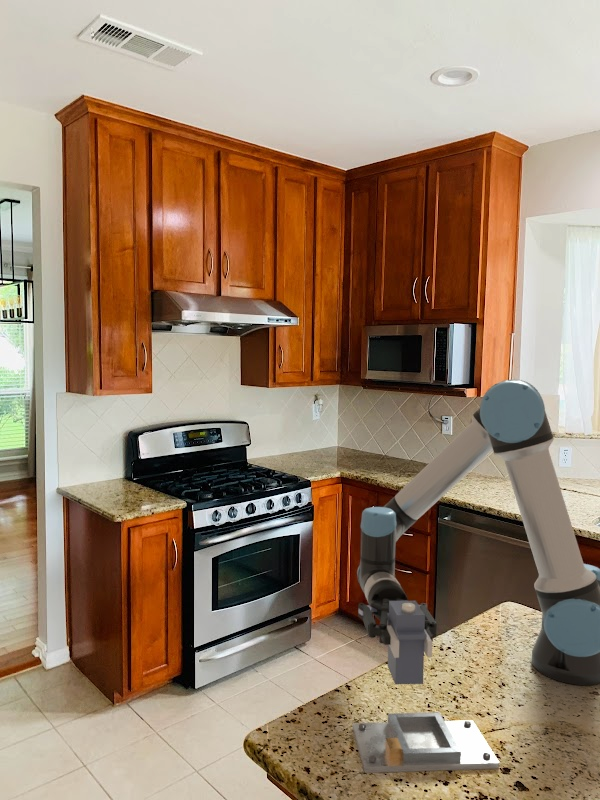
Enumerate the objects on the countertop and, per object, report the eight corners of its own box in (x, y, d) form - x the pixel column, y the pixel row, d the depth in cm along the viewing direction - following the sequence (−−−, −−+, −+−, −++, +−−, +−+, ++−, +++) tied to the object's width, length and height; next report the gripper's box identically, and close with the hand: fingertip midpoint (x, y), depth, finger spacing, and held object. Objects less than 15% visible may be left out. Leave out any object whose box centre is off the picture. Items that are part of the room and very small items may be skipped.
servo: (412, 662, 114) (414, 592, 113) (425, 688, 104) (427, 612, 104) (386, 662, 113) (387, 592, 113) (396, 688, 104) (398, 612, 103)
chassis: (472, 725, 113) (473, 710, 112) (498, 768, 101) (499, 751, 100) (352, 728, 111) (352, 713, 111) (364, 772, 99) (365, 755, 99)
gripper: (428, 614, 127) (465, 670, 104) (341, 615, 126) (359, 672, 103) (429, 578, 127) (467, 627, 103) (342, 579, 126) (360, 627, 102)
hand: (413, 649), depth 103 cm, fingers closed on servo, 5 cm apart
